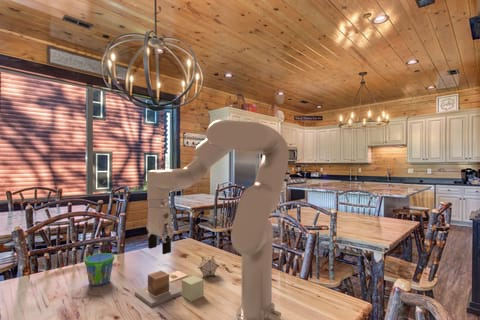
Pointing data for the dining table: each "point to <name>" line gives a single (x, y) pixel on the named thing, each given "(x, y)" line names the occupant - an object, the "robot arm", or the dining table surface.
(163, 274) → the walnut block
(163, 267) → the dining table surface
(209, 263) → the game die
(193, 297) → the sage block
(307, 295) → the dining table surface
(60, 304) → the dining table surface
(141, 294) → the plate
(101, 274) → the snack cup
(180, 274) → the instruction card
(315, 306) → the dining table surface
